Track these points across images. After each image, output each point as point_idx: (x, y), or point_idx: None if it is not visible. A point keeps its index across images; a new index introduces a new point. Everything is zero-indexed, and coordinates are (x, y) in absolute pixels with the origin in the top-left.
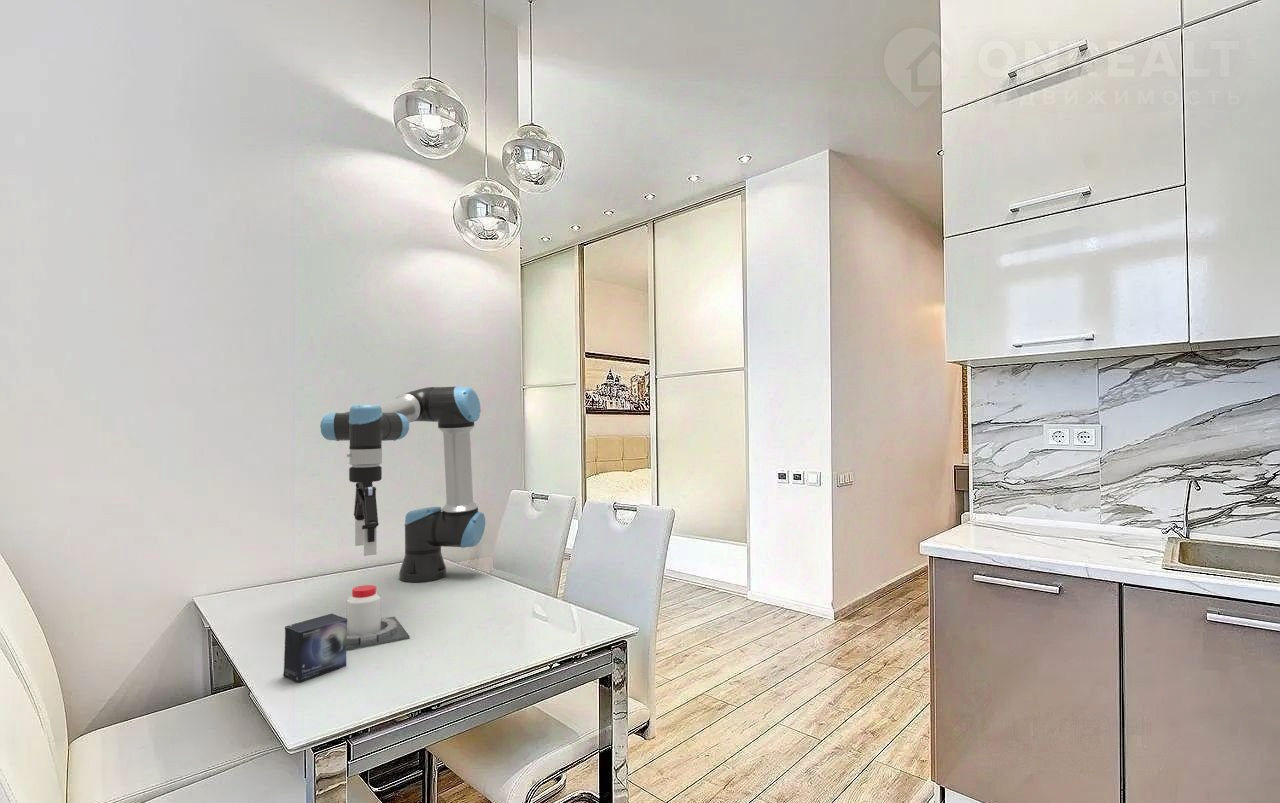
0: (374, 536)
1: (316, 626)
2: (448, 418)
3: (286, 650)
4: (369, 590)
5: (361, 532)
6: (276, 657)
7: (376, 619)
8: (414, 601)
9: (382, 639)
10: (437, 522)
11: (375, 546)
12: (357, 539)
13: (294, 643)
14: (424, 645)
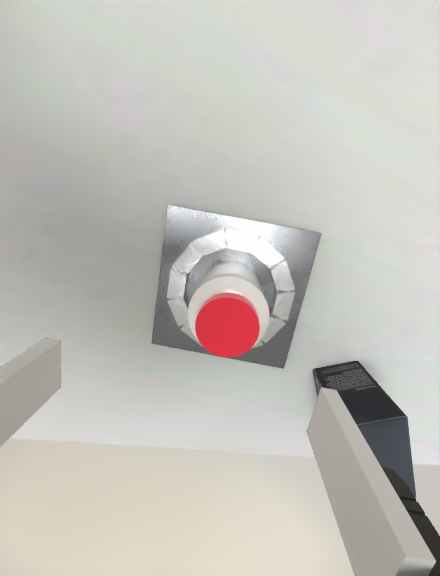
0: (419, 506)
1: (408, 471)
2: None
3: None
4: (259, 324)
5: (4, 412)
6: (235, 417)
7: (260, 285)
8: (60, 107)
9: (296, 280)
10: None
11: (353, 425)
12: (36, 401)
13: None
14: (380, 226)
